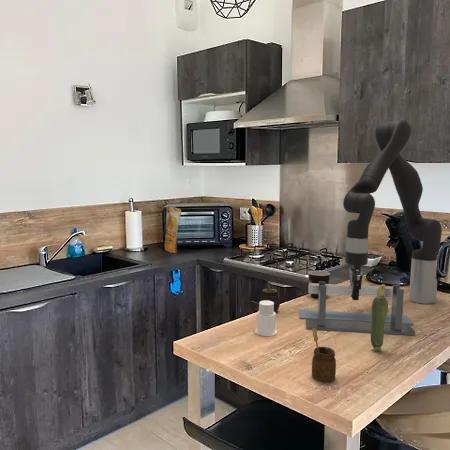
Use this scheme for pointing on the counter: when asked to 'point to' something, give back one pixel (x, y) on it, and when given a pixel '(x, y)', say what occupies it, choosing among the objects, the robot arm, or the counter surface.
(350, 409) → the counter surface
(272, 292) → the mate gourd
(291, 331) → the counter surface
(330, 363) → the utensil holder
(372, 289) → the steel rail
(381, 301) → the vegetable
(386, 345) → the counter surface
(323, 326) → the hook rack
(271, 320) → the downlight
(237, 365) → the counter surface
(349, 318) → the blue-gray flat board
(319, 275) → the coffee mug
